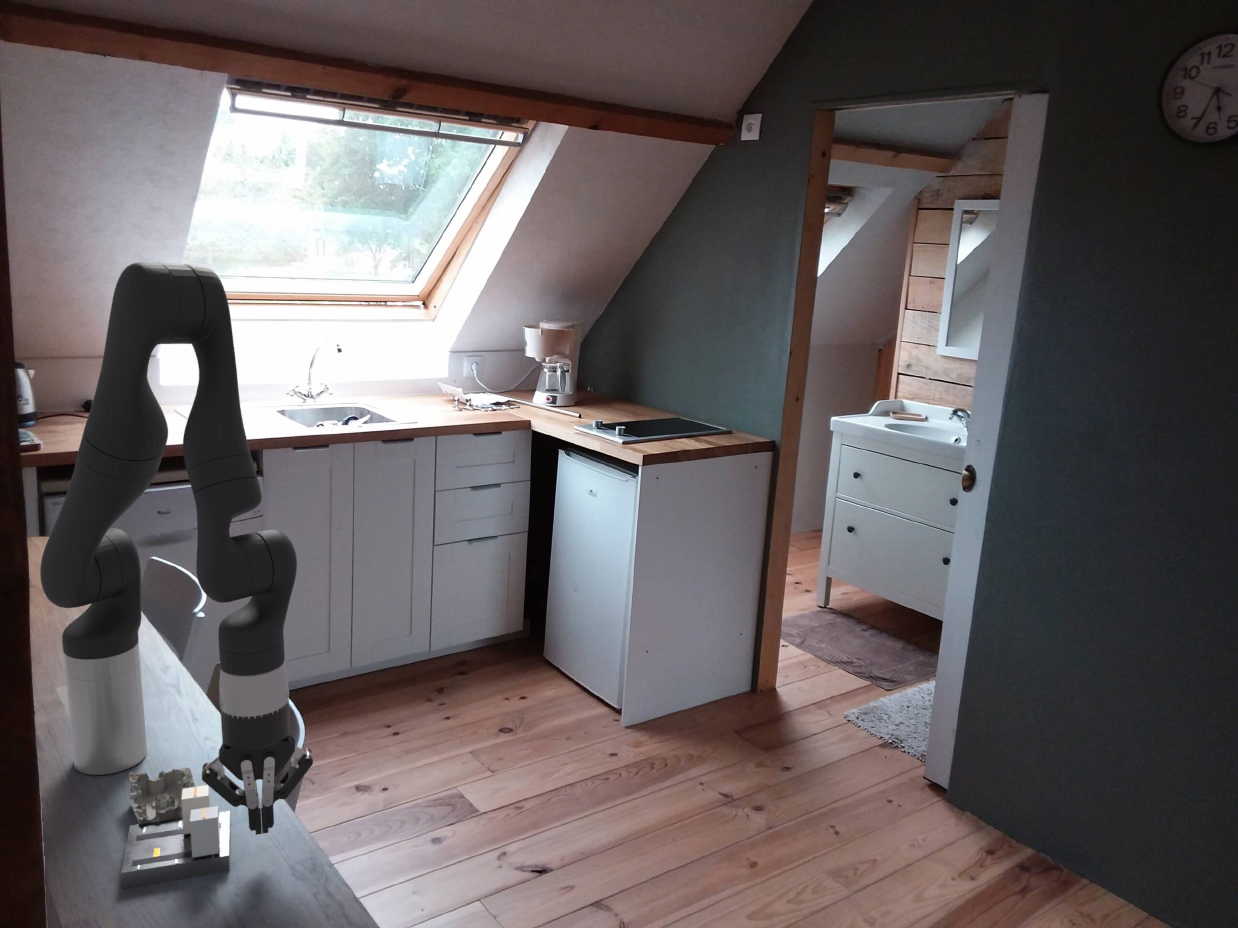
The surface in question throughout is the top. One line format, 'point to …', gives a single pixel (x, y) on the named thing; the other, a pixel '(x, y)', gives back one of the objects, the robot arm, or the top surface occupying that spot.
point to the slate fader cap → (205, 831)
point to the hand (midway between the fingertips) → (261, 829)
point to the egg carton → (159, 794)
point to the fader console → (170, 853)
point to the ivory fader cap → (193, 803)
